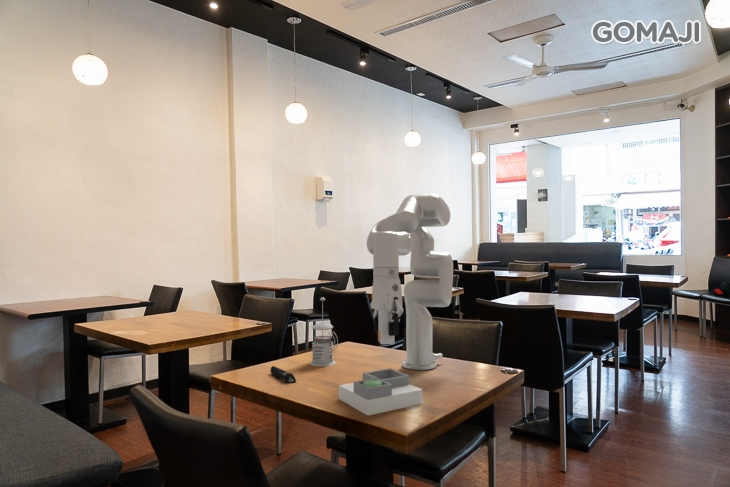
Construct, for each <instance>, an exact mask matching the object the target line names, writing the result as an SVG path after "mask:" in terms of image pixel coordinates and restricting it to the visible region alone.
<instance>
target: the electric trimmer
mask: <svg viewBox="0 0 730 487" xmlns="http://www.w3.org/2000/svg"><path fill="white" fill-rule="evenodd" d="M270 373H271V374H272V375H273V376H274V377H275V378H277V379H280V380H282V381H284V383H285V384H287V385H289V384H295V383H297V379H296V377H295V375H294V374H293V373H291V372H287V371H286V370H283V369H281V368H280V367H277V366H275V365H272V366H271V367H270Z"/></svg>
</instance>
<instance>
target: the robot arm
mask: <svg viewBox="0 0 730 487" xmlns="http://www.w3.org/2000/svg"><path fill="white" fill-rule="evenodd" d="M450 221H451V211H450V207H449V205H448V204H447V202H446V201H445V199H443V197H441V196H440V195H438V194H436V193H425V194H424V193H423V194H420V193H418V194H409V195H407V196H406V197H405V198H404V199H403V200H402V202H401V204H400V205H399V207H398V209H397V210H396V212H395V213H394V214H391V215H389V216H387V217H385V218H383V219H381V220H379V221H378V222H376V223H375V224H374V225H373V226H372V228H371V230H370V231H369V233H368V235H367V239H366V248H367V251H368V252H369V253H370V254H371V255H372V256H373V257H372V258H373V259H372V260H373V262H372V264H373V265H372V266H373V268H372V271H373V272H372V273H373V275H372V276H373V280H372V289H371V290H372V292H371V302H370V308H371V313H372V318H373V331H374V332H375V333H377V332H378V311H379V306H380V303H384V309H385V312H387V313H388V315H389V319H390V322H389V336H394V335H395V336H399V335H400V334H399V333H400V330H399V327H400V326H399V325H400V321H401V318H402V315H403V313H404V308H403V298H404V303H405V304H404V305H405V314H406V316H405V317H406V318H405V319H406V320H405V321H406V323H405V324H406V325H405V326H406V332H405V334H406V342H405V344H406V360H403V361H402V362H401V365H402V367H403V368H405V369H408V370H416V371H427V370H433V369H436V368H437V367H438V364H437V362H436V360H441V359H442V358H443V356H444V355H443V354H442V352H439V353H436V352H435V353H434V352H433V316H432V315H431V313H430V311H429V310H428V308H429V307H430V308H435V307H436V308H447V307H449V306H450V304H451V303H452V296H453V284H454V283H453V282H454V280H453V278H454V277H453V276H454V261H453V257H452V255H451V254H450V253H448V252H446V251H435V239H434V236H433V234H431V233H430V232H429V230H428V229H427V228H430V227H431V228H432V227H433V228H434V227H439V228H441V227H446V226H448V225H449V224H450ZM426 227H427V228H426ZM409 254H410V262H409V264H410V265H409V269H410V270H409V271H410V273H411V275H412V276H414V277H418V278H437V279H439V280H429V279H414V280H410V281H407V282H406V283H405V285H404V287H403V292H402V283H401V279H400V276H399V275H400V274H399V273H400V272H399V271H400V270H399V269H400V267H399V264H400V263H399V262H400V260H399V259H400V258H399V257H401V256H403V257H404V256H406V255H409ZM393 304H394V311H392V310H391V309H392V307H393ZM427 307H428V308H427ZM393 313H394V316H392V314H393Z"/></svg>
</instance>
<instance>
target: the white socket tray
mask: <svg viewBox="0 0 730 487" xmlns="http://www.w3.org/2000/svg"><path fill="white" fill-rule="evenodd" d="M410 378H411V376H410V375H409V374H406V373H405V372H404V373H403V372H401V371H398V370H396V369H393V368H390V367H389V368H384V369H379V370H372V371H365V372H362V379H361V380H355V381H353V382H351V383H345V384H339V385H338V400H340V401H342V402H344V403H345V404H348V405H349V406H350V407H352V408H354V409H355V410H357V411H359V412H360V413H363V415H365V416H372V415H373V416H374V415H377V414H381V413H386V412H390V411H396V410H400V409H406V408H410V407H414V406H415V407H416V406H418V405H423V389H422V388H419V387H417V386H415V385H412V384H410V383H411V380H410ZM366 380H379V381H381V382H382V385H380V386H374V387H367V386H365V385H363V382H364V381H366Z"/></svg>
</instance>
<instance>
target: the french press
mask: <svg viewBox="0 0 730 487" xmlns="http://www.w3.org/2000/svg"><path fill="white" fill-rule="evenodd" d="M319 301H321V302H322V303H321V304H322V305H321V307H322V308H321V310H322V315H321V317H322V320H321V321H322V322H319V323H318V322H317V323H315V325H313V326H312V327H311V329H312V330H314V331H315V330H317V331H322V335H317V336H313V341H312V342H311V344H312V354H311V355H312V356H311V357H312V358H311V359H312V360H311V361H310V363H309V365H310V366H314V367H331V366H334V365H336V362H337V361H335V360H334V351H335V350H336V349H338V346H339V345H338V344H339V339H338V336H337V334H336V333H335V331H331V332H330V331H329V332H328V335H324V331H328V330H332V329H333V328H334V326H333V325H332V324H331V323H328V322H324V301H326V298H325V297H324V296H323V297H322V296H321V297H320V298H319ZM333 334H334V335H335V336H334V335H333ZM332 339H333V340H334V341H333V340H332ZM336 341H337V343H336ZM335 346H336V347H335Z"/></svg>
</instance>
